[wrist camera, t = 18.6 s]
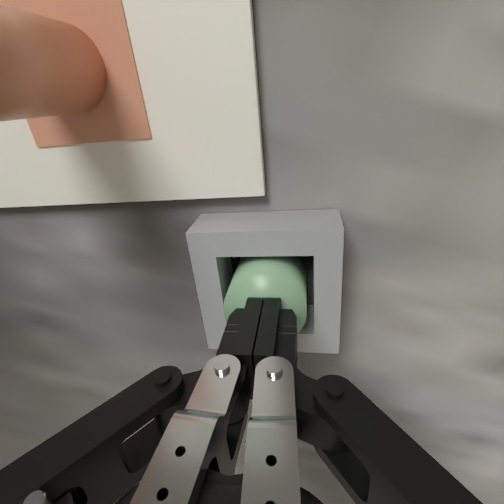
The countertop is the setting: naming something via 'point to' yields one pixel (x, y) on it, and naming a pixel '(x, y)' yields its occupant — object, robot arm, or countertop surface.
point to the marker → (46, 67)
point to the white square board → (147, 109)
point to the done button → (269, 284)
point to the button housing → (271, 244)
